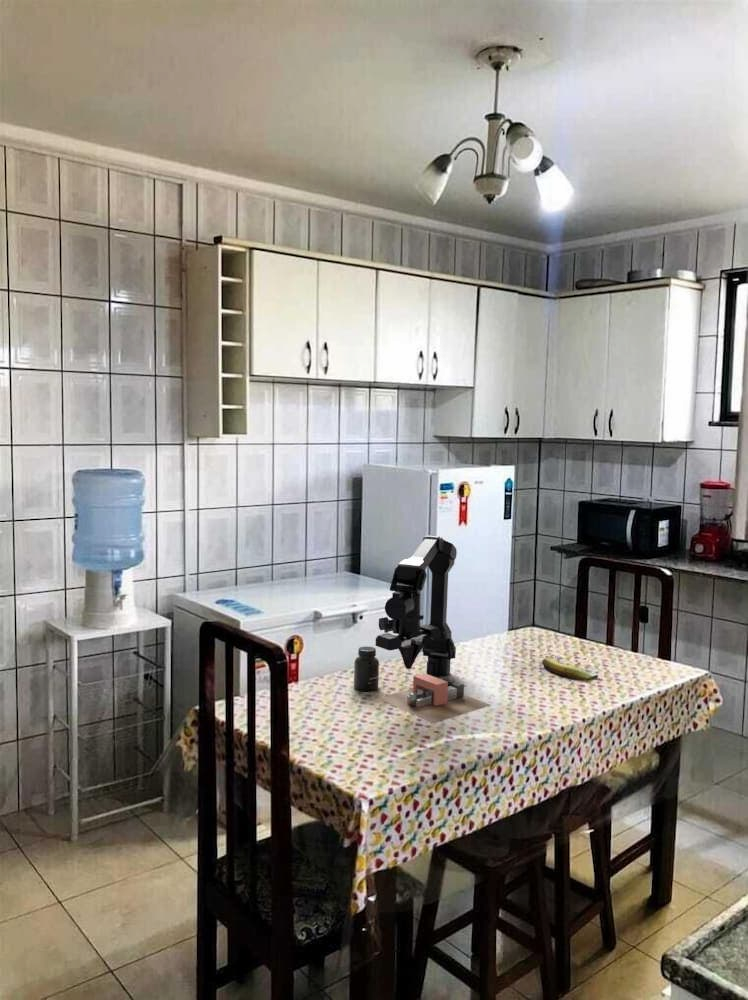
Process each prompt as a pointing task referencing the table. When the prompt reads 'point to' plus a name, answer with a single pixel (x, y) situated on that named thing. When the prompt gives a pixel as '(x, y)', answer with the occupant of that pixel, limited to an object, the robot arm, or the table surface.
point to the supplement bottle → (366, 670)
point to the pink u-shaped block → (432, 687)
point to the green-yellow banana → (566, 670)
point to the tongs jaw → (453, 692)
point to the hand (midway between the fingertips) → (408, 668)
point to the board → (432, 711)
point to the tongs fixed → (422, 694)
